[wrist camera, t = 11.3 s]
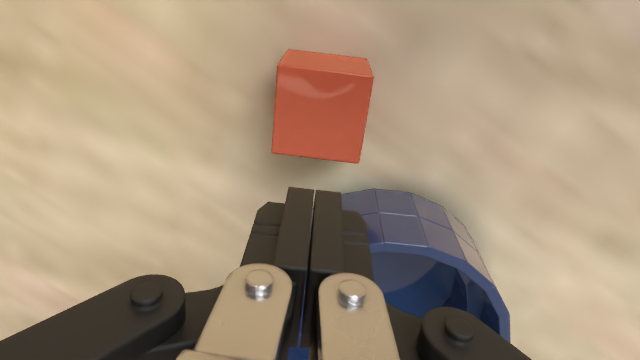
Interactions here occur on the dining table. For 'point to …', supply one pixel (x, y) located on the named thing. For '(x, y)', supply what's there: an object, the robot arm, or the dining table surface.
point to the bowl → (422, 260)
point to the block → (321, 105)
